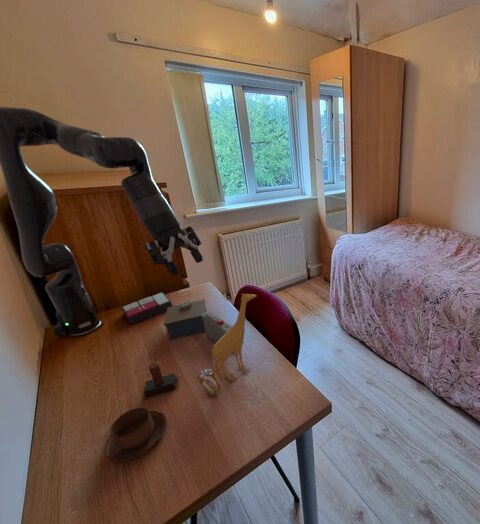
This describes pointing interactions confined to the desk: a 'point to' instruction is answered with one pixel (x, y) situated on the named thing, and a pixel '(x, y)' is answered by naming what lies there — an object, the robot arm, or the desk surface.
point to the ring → (208, 373)
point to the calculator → (146, 307)
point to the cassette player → (215, 326)
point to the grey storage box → (185, 319)
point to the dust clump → (185, 305)
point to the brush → (159, 382)
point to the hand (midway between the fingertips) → (189, 268)
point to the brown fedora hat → (134, 434)
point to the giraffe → (232, 340)
